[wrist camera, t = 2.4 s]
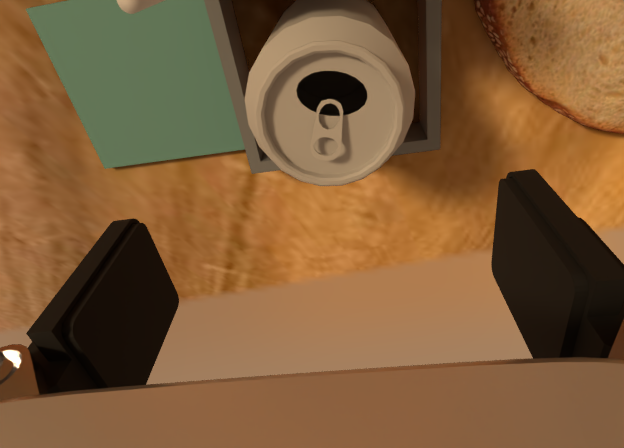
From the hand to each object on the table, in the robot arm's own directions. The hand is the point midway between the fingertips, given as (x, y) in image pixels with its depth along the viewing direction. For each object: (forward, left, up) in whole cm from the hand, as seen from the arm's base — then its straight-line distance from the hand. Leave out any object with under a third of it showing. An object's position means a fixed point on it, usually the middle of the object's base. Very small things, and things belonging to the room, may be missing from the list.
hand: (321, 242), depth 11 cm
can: (0, 0, -20) cm, 20 cm away
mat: (+12, 0, -20) cm, 23 cm away
